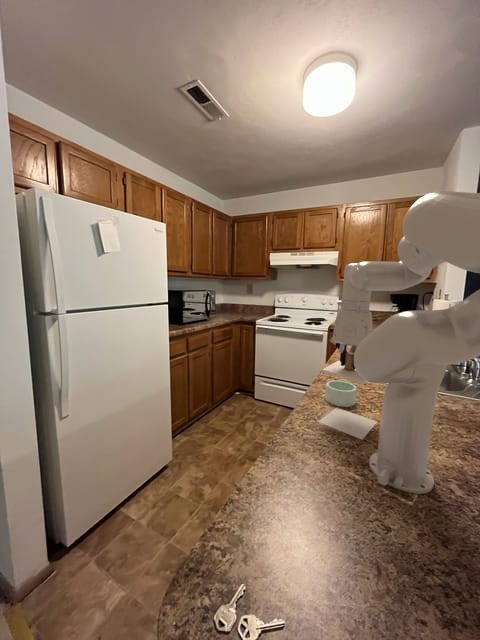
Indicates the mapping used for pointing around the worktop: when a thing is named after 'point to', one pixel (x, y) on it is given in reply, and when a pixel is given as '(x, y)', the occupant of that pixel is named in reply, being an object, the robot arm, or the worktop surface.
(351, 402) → the bowl
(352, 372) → the cover
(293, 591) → the worktop surface
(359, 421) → the mat
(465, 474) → the worktop surface
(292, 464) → the worktop surface
